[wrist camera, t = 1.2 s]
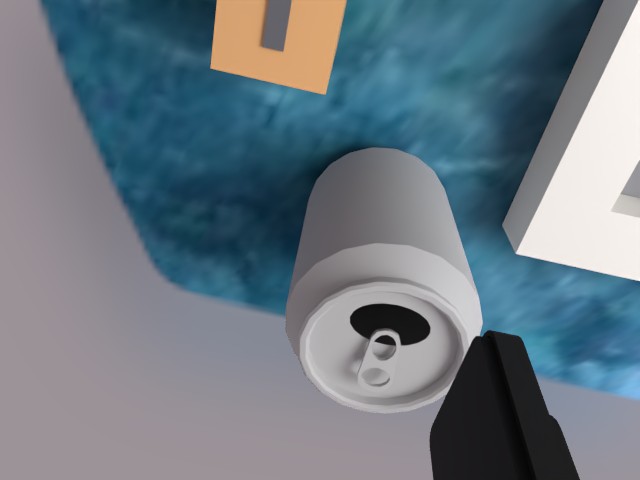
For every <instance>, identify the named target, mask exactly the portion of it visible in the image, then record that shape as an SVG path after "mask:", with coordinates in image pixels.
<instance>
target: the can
mask: <svg viewBox="0 0 640 480" xmlns="http://www.w3.org/2000/svg"><path fill="white" fill-rule="evenodd" d="M482 324H483V321H482V314H481V308H480V302H479V297H478V294H477V290H476V287H475V284H474V281H473V278H472V275H471V271H470V268H469V265H468V262H467V259H466V256H465V252H464V249H463V246H462V243H461V240H460V237H459V233H458V230H457V227H456V224H455V221H454V218H453V214H452V211H451V208H450V205H449V202H448V199H447V195H446V192H445V189H444V187H443V186H442V184H441V182H440V181H439V179H438V177H437V175H436V174H435V172H434V171H433V170H432V169H431V168H430V167H428V166H427V165H426V164H425V163H424V162H422V161H421V160H420V159H419V158H418V157H415V156H413V155H410V154H408V153H405V152H403V151H400V150H397V149H390V148H375V147H372V148H367V149H363V150H359V151H355V152H350V153H348V154H347V155H345V156H343V157H342V158H340V159H338V160H337V161H335V162H333V163H331V164H330V165H329V166H328V167H327V169H326V170H325V171H324V172H323V173H322V174H321V175H320V177H319V178H318V179H317V180H316V182H315V185H314V187H313V190H312V192H311V195H310V197H309V201H308V205H307V210H306V215H305V220H304V224H303V229H302V234H301V238H300V243H299V248H298V253H297V257H296V262H295V267H294V271H293V276H292V281H291V286H290V290H289V295H288V300H287V305H286V333H287V335H288V338H289V340H290V343H291V345H292V348H293V350H294V353H295V354H296V355H297V356H298V359H299V361H300V364H301V366H302V369H303V372H304V374H305V376H306V377H307V378H308V379H309V380H310V381H311V383H312V384H313V385H314V386H315V387H316V388H317V389H318V390H319V391H320V392H321V393H323V394H325V395H326V396H328V397H329V398H331V399H333V400H334V401H336V402H337V403H339V404H342V405H345V406H348V407H351V408H354V409H358V410H361V411H366V412H378V413H394V412H402V411H409V410H414V409H416V408H419V407H422V406H424V405H427V404H430V403H432V402H435V401H436V400H438V399H439V398H441V397H442V396H444V395H445V394H446V393H448V391H449V389H450V387H451V385H452V383H453V380H454V378H455V376H456V374H457V372H458V370H459V368H460V366H461V364H462V361H463V359H464V357H465V355H466V353H467V351H468V349H469V347H470V344H471V342H472V340H473V339H474V337H476V336H479V335H480V332H481V328H482Z"/></svg>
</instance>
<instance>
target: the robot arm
mask: <svg viewBox="0 0 640 480" xmlns="http://www.w3.org/2000/svg"><path fill="white" fill-rule="evenodd" d="M430 452H431V461H432V470H433V479H434V480H580V479H579V476H578V473H577V470H576V468H575V465H574V462H573V460H572V457H571V454H570V452H569V449H568V446H567V443H566V441H565V438H564V435H563V433H562V430H561V428H560V426H559V424H558V422H557V420H556V419H555V418H553V416H551V415H549V413H548V410H547V407H546V405H545V401H544V399H543V396H542V394H541V390H540V388H539V385H538V382H537V379H536V376H535V373H534V371H533V368H532V365H531V362H530V359H529V357H528V354H527V351H526V348H525V346H524V343H523V341H522V339H521V338H520V337H519V336H516V335H511V334H506V333H501V332H496V331H491V330H489V331H487V332H486V333H485V334H484V335H483V337H481V336H476V337H474V339H473V340H472V342H471V344H470V347H469V349H468V351H467V353H466V355H465V357H464V359H463V361H462V364H461V366H460V368H459V370H458V372H457V374H456V376H455V378H454V380H453V383H452V385H451V387H450V389H449V391H448V393H447V395H446V397H445V400H444V402H443V404H442V406H441V408H440V410H439V412H438V414H437V417H436V419H435V421H434V423H433V425H432V428H431V432H430Z"/></svg>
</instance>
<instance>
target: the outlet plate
mask: <svg viewBox="0 0 640 480" xmlns="http://www.w3.org/2000/svg"><path fill="white" fill-rule="evenodd" d="M502 226H503V228H504V230H505V232H506V234H507V237H508V239H509V241H510V243H511V245H512V247H513V249H514V251H515V253H516V254H519V255H524V256H528V257H533V258H537V259H542V260H546V261H551V262H555V263H560V264H564V265H569V266H574V267H578V268H583V269H587V270H592V271H596V272H601V273H605V274H610V275H614V276H619V277H623V278H628V279H633V280H637V281H640V0H604V1H603V3H602V5H601V7H600V10H599V12H598V14H597V16H596V18H595V21H594V23H593V25H592V27H591V29H590V32H589V34H588V36H587V38H586V40H585V43H584V45H583V47H582V49H581V52H580V54H579V56H578V58H577V60H576V63H575V65H574V67H573V69H572V71H571V74H570V76H569V78H568V80H567V82H566V85H565V87H564V89H563V91H562V94H561V96H560V98H559V100H558V102H557V105H556V107H555V109H554V111H553V113H552V116H551V118H550V120H549V122H548V125H547V127H546V129H545V131H544V133H543V136H542V138H541V140H540V142H539V144H538V147H537V149H536V151H535V153H534V155H533V158H532V160H531V162H530V164H529V167H528V169H527V171H526V173H525V175H524V178H523V180H522V182H521V184H520V186H519V189H518V191H517V193H516V195H515V197H514V200H513V202H512V204H511V206H510V209H509V211H508V213H507V215H506V217H505V220H504V222H503V224H502Z"/></svg>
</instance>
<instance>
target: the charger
mask: <svg viewBox="0 0 640 480" xmlns="http://www.w3.org/2000/svg"><path fill="white" fill-rule="evenodd" d="M346 3H347V0H217V5H216V16H215V26H214V37H213V47H212V58H211V69H215V70H220V71H224V72H228V73H233V74H237V75H241V76H246V77H250V78H254V79H259V80H263V81H267V82H272V83H276V84H280V85H285V86H289V87H294V88H298V89H302V90H307V91H311V92H315V93H320V94H324V95H326V90H327V86H328V82H329V78H330V74H331V70H332V66H333V62H334V58H335V53H336V49H337V44H338V40H339V35H340V31H341V26H342V21H343V17H344V12H345V7H346Z"/></svg>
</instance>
